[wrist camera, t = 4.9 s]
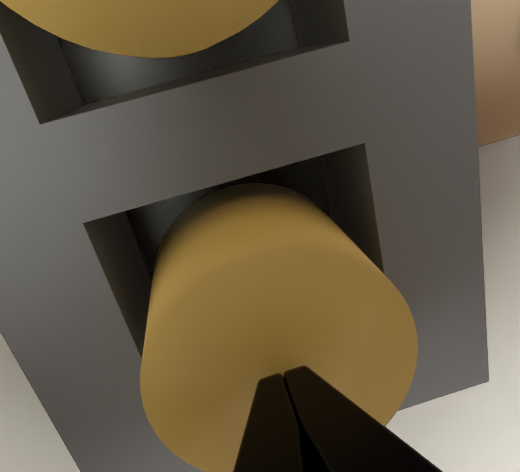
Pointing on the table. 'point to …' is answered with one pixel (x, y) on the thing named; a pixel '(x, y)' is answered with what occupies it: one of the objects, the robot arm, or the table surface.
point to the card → (496, 68)
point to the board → (227, 169)
